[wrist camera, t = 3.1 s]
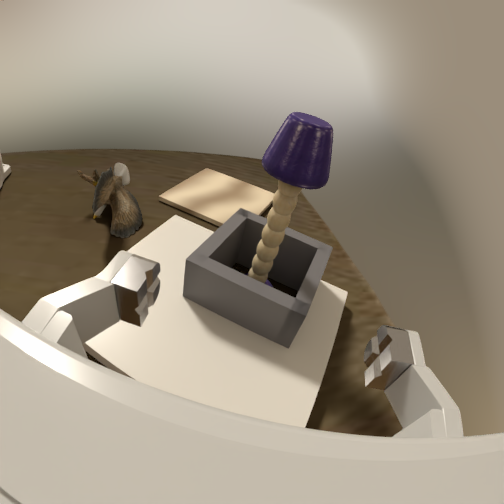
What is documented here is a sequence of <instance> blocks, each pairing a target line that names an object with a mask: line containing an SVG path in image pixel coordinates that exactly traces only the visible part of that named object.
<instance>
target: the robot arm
mask: <svg viewBox="0 0 504 504" xmlns="http://www.w3.org/2000/svg"><path fill="white" fill-rule="evenodd" d="M0 1H2V0H0ZM10 173H11V169H10V166H9V165H6V164H2V158H1V153H0V188H1V187H2V184H3V181H4V179H5V178H6V177H7V176H8V175H9V174H10ZM159 273H160V264H159V263H158V262H156V261H153V260H150V259H147V258H144V257H141V256H138V255H136V254H132V253H129V252H126V251H124V250H122V251H119V252H118V253H117V254H116V256H115V257H114V258H113V259H112V260H111V262H110V263H109V264H108V265H107V266H106V268H105V269H104V270H103V271H102V273H101V274H100V275H99V276H98V278H97V277H92V278H89V279H87V280H84V281H82V282H79V283H77V284H74V285H72V286H69V287H67V288H65V289H62V290H60V291H57V292H55V293H52V294H50V295H48V296H45V297H43V298H41V299H40V300H39V301H38V302H37V304H36V305H35V306H34V307H33V308H32V310H31V311H30V312H29V313H28V315H27V316H26V317H25V319H24V320H23V321H22V322H20V321H18V320H17V319H15V318H13V317H12V316H10V315H9V314H7V313H6V312H4V311H3V310H1V309H0V504H504V433H497V434H488V435H479V436H466V437H464V436H463V429H462V423H461V415H460V410H459V408H458V407H457V405H456V404H455V402H454V401H453V400H452V398H451V397H450V395H449V394H448V393H447V391H446V390H445V388H444V387H443V386H442V384H441V383H440V382H439V380H438V379H437V378H436V376H435V375H434V374H433V373H432V371H431V370H430V368H429V367H426V365H425V360H424V355H423V351H422V346H421V341H420V337H419V334H418V333H417V332H414V331H409V330H404V329H400V328H395V327H391V326H387V325H383V326H381V327H380V328H379V329H378V330H377V336H376V337H374V338H371V340H370V341H369V342H368V344H367V346H366V349H365V353H364V362H365V364H366V365H367V367H368V369H367V370H366V371H365V386H366V387H369V388H375V389H380V390H385V391H384V392H385V394H386V396H387V398H388V400H389V402H390V404H391V406H392V408H393V410H394V412H395V414H396V416H397V418H398V420H399V422H400V424H401V426H402V428H403V430H401V431H400V432H398V433H396V434H395V435H394V436H393V437H378V436H365V435H354V434H345V433H337V432H329V431H322V430H315V429H309V428H303V427H297V426H292V425H286V424H281V423H276V422H271V421H267V420H262V419H258V418H253V417H249V416H245V415H241V414H237V413H233V412H230V411H226V410H222V409H219V408H215V407H212V406H208V405H205V404H202V403H198V402H195V401H192V400H189V399H186V398H183V397H180V396H177V395H174V394H171V393H168V392H165V391H163V390H160V389H157V388H155V387H152V386H149V385H147V384H144V383H142V382H139V381H136V380H134V379H132V378H129V377H127V376H124V375H122V374H120V373H117V372H115V371H113V370H110V369H108V368H106V367H104V366H102V365H99V364H97V363H95V362H93V361H91V360H89V359H88V358H87V355H86V352H85V350H84V347H83V345H82V344H83V343H85V342H87V341H88V340H90V339H91V338H93V337H95V336H96V335H98V334H100V333H101V332H103V331H104V330H106V329H108V328H109V327H111V326H113V325H114V324H116V323H117V322H119V321H120V320H122V321H125V322H127V323H130V324H133V325H136V326H139V327H141V326H142V324H143V322H144V321H145V319H146V317H147V315H148V307H150V306H152V305H154V303H155V301H156V299H157V297H158V294H159V290H160V279H159V278H158V274H159Z"/></svg>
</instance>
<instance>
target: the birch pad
mask: <svg viewBox="0 0 504 504" xmlns="http://www.w3.org/2000/svg"><path fill="white" fill-rule="evenodd" d="M274 195H275V194H274V193H271V192H269V191H266V190H264V189H261V188H258V187H256V186H253V185H251V184H248V183H245V182H243V181H240V180H238V179H235V178H232V177H230V176H227V175H224V174H222V173H219V172H216V171H213V170H211V169H208V168H206V169H204V170H203V171H201V172H199V173H197V174H195V175H194V176H192V177H190V178H188V179H187V180H185V181H183V182H182V183H180V184H178V185H176V186H175V187H173V188H171V189H170V190H168V191H166V192H165V193H163V194H161V195H160V196H159V201H162V202H164V203H166V204H169V205H171V206H173V207H176V208H178V209H180V210H182V211H185V212H187V213H189V214H192V215H194V216H196V217H199V218H201V219H203V220H205V221H208V222H210V223H212V224H215V225H217V226H219V227H220V226H221V225H223V224H224V223H225V222H226V221H227V220H228V219H229V218H230V217H231V216H232V215H233V214H235V213H236V212H237V211H238V210H239V209H240V208H242V209H245V210H247V211H250V212H252V213H255V214H257V215H259V216H261V214H262V213H263V212H264V211H265V210H266V209H267V208H268V207H269V206H270V205H271V204H272V202H273V197H274Z"/></svg>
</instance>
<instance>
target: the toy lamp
mask: <svg viewBox="0 0 504 504" xmlns="http://www.w3.org/2000/svg"><path fill="white" fill-rule="evenodd" d="M332 143H333V128H332V126H331V125H330V124H329V123H328V122H326V121H324V120H322V119H320V118H317V117H315V116H312V115H309V114H305V113H300V112H293V113H291V114H290V115H289V116H288V117H287V119H286V120H285V121H284V123H283V125H282V126H281V127H280V129H279V131H278V132H277V134H276V135H275V137H274V139H273V140H272V142H271V144H270V145H269V147H268V149H267V150H266V152H265V154H264V156H263V159H262V165H263V167H264V169H265V170H266V171H267V172H268V174H270V175H271V176H273V177H274V178H276V179H278V180H279V182H278V188H279V189H278V190H277V191H276V193H275V195H274V197H273V207H272V208H271V209H270V211H269V213H268V217H267V224H266V225H265V227H264V228H263V231H262V239H261V240H260V242H259V243H258V245H257V250H256V252H257V254H256V255H255V256H254V258H253V261H252V268H251V269H250V270H249V272H248V273H246V274H244V275H247V276H249V277H251V278H253V279H255V280H257V281H259V282H262V283H264V284H266V285H268V286H270V287H272V288H273V286H272V284H271V283H270V282H269V280H268V279H267V277H268V272H269V271H270V270H271V268H272V266H273V259H274V258H275V257H276V256H277V254H278V251H279V245H280V244H281V242H282V241H283V239H284V235H285V229H286V228H287V226H288V225H289V222H290V219H291V212H292V211H293V210H294V208H295V206H296V204H297V195H298V194H299V193H300V191H301V190H302V188H305V189H318V188H321V187H323V186H325V185H326V183H327V181H328V178H329V171H330V163H331V154H332Z"/></svg>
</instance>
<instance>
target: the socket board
mask: <svg viewBox="0 0 504 504" xmlns="http://www.w3.org/2000/svg"><path fill="white" fill-rule="evenodd" d="M266 224H267V219H266V218H264V217H262V216H259V215H257V214H255V213H252V212H250V211H247V210H245V209H242V208H240V209H239V210H238V211H237V212H236V213H235V214H233V215H232V216H231V217H230V218H229V219H228V220H227V221H226V222H225V223H224V224H223V225H221V226H220V227H219V228H218V229H217V230H216V231H215V232H213V231H210V230H208V229H206V228H204V227H201V226H199V225H197V224H195V223H193V222H190V221H188V220H186V219H184V218H181V217H179V216H177V215H175V216H173V217H172V218H171V219H169V220H168V221H166V222H165V223H164V224H162V225H161V226H160V227H158V228H157V229H156V230H154V231H153V232H152V233H150V234H149V235H148V236H146V237H145V238H144V239H142V240H141V241H140V242H139V243H137V244H136V245H135V246H133V247H132V248H131V249H129V250H128V251H127V252H129V253H132V254H136V255H138V256H141V257H144V258H147V259H150V260H153V261H156V262H158V263H159V264H160V273H159V274H158V278H159V279H160V290H159V294H158V297H157V299H156V301H155V303H154V305H152V306H150V307H148V315H147V317H146V319H145V321H144V322H143V324H142V326H141V327H139V326H136V325H133V324H130V323H127V322H125V321H122V320H120V321H119V322H117V323H116V324H114V325H113V326H111V327H109V328H108V329H106V330H104V331H103V332H101V333H100V334H98V335H96V336H95V337H93V338H91V339H90V340H88V341H87V342H85V343H83V344H82V345H83V347H84V350H85V351H87V352H88V353H89V354H90V355H92V356H93V357H94V358H95V359H97V360H98V361H99V362H101V363H102V364H103V365H105V366H106V367H107V368H109V369H110V370H113V371H115V372H117V373H120V374H122V375H124V376H127V377H129V378H132V379H134V380H136V381H139V382H142V383H144V384H147V385H149V386H152V387H155V388H157V389H160V390H163V391H165V392H168V393H171V394H174V395H177V396H180V397H183V398H186V399H189V400H192V401H195V402H198V403H202V404H205V405H208V406H212V407H215V408H219V409H222V410H226V411H230V412H233V413H237V414H241V415H245V416H249V417H253V418H258V419H262V420H267V421H271V422H276V423H281V424H286V425H292V426H297V427H303V428H305V427H306V424H307V421H308V419H309V416H310V413H311V411H312V408H313V405H314V402H315V399H316V397H317V394H318V391H319V388H320V385H321V382H322V379H323V376H324V373H325V370H326V367H327V363H328V360H329V357H330V354H331V351H332V347H333V344H334V341H335V337H336V334H337V330H338V327H339V323H340V319H341V316H342V312H343V308H344V304H345V301H346V297H347V293H348V292H346V291H344V290H342V289H340V288H337V287H335V286H333V285H331V284H329V283H326V282H324V281H322V280H321V278H322V275H323V272H324V270H325V267H326V264H327V261H328V259H329V256H330V253H331V250H332V248H333V247H331V246H329V245H326V244H324V243H322V242H320V241H317V240H315V239H313V238H311V237H308V236H306V235H304V234H301V233H299V232H297V231H295V230H292V229H290V228H288V227H287V228H286V229H285V235H284V239H283V241H282V242H281V244H280V245H279V251H278V254H277V256H276V257H275V258H274V259H273V266H272V268H271V270H270V271H269V272H268V278H270V279H273V280H275V281H277V282H279V283H281V284H284V285H286V286H288V287H290V288H292V289H295V290H297V291H298V293H297V296H296V298H294V297H292V296H290V295H288V294H286V293H283V292H281V291H279V290H277V289H275V288H272V287H270V286H268V285H266V284H264V283H262V282H259V281H257V280H255V279H253V278H251V277H249V276H247V275H244V274H242V273H240V272H238V271H236V270H234V269H232V267H233V266H234V264H235V263H238V264H240V265H242V266H244V267H247V268H249V269H251V268H252V261H253V258H254V256H255V255H256V254H257V252H256V250H257V245H258V243H259V242H260V240H261V239H262V231H263V228H264V227H265V225H266ZM101 273H102V272H101ZM101 273H99V274H98V275H97V276H96V277H97V278H98V276H99V275H100V274H101Z"/></svg>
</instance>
